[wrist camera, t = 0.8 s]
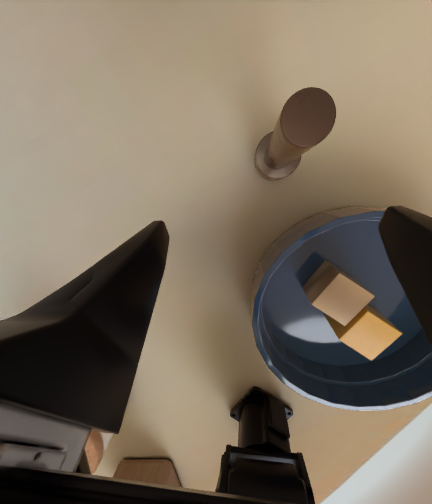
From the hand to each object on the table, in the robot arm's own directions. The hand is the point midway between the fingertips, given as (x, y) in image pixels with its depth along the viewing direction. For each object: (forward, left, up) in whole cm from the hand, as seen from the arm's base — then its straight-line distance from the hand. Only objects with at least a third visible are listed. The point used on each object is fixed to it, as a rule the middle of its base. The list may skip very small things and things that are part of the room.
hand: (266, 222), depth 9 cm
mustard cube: (-4, -16, -14) cm, 22 cm away
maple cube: (-3, -12, -14) cm, 19 cm away
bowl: (-3, -14, -15) cm, 21 cm away
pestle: (+5, +1, -15) cm, 16 cm away
